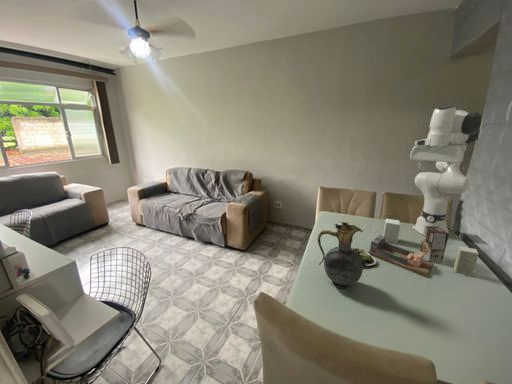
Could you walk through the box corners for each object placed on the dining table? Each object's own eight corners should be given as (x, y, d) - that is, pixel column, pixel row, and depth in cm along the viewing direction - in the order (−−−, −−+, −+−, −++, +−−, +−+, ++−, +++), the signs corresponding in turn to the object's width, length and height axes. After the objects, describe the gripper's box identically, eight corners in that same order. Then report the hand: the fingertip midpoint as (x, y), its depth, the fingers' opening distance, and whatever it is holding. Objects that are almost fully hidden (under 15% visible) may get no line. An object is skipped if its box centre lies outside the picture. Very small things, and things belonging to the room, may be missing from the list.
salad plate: (331, 248, 125) (331, 241, 124) (361, 247, 125) (362, 240, 124) (345, 269, 106) (346, 261, 105) (381, 267, 107) (382, 259, 105)
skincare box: (470, 272, 101) (477, 249, 98) (472, 277, 98) (479, 253, 94) (452, 267, 105) (458, 245, 101) (454, 272, 101) (460, 249, 98)
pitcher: (360, 296, 88) (369, 230, 80) (313, 284, 96) (316, 222, 88) (360, 280, 98) (368, 219, 90) (317, 270, 106) (320, 213, 97)
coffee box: (442, 263, 109) (449, 234, 104) (428, 261, 110) (434, 233, 105) (432, 253, 117) (438, 226, 113) (419, 252, 118) (424, 225, 114)
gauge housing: (377, 245, 126) (379, 234, 124) (433, 266, 106) (436, 252, 104) (367, 254, 118) (369, 241, 116) (425, 277, 98) (429, 263, 96)
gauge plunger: (409, 257, 111) (411, 248, 109) (422, 262, 107) (424, 252, 105) (404, 263, 106) (405, 254, 105) (417, 268, 102) (419, 258, 101)
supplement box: (397, 244, 127) (400, 224, 123) (382, 241, 130) (385, 222, 127) (396, 239, 133) (399, 220, 129) (382, 236, 136) (385, 218, 133)
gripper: (468, 142, 97) (461, 172, 101) (415, 141, 113) (410, 167, 116) (466, 142, 94) (458, 174, 97) (411, 141, 109) (406, 168, 113)
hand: (432, 170), depth 107 cm, fingers open, 8 cm apart
